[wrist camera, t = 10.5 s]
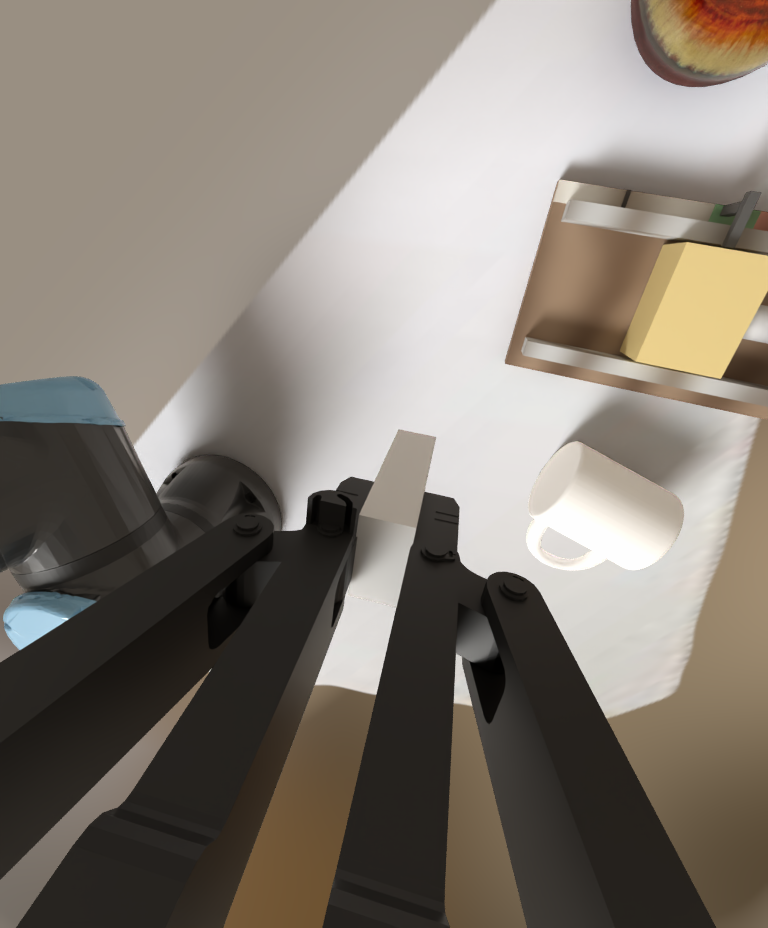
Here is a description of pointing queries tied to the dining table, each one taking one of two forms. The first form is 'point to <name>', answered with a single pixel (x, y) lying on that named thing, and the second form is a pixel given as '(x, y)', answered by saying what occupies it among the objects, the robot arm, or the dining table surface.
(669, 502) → the mug
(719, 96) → the dining table surface
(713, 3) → the vase
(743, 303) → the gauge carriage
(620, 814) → the robot arm
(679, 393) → the bench
